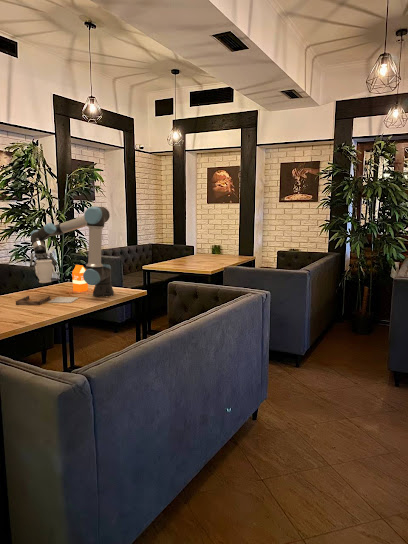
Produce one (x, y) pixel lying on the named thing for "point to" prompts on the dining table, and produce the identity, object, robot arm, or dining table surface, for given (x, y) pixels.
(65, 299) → the grey mat
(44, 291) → the dining table surface
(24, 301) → the dark brown wooden board
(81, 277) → the orange juice
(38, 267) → the jar
